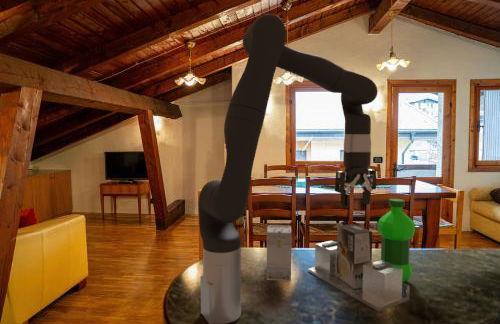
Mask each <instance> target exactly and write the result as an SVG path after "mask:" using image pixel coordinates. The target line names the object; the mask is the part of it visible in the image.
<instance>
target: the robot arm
mask: <svg viewBox="0 0 500 324" xmlns="http://www.w3.org/2000/svg"><path fill="white" fill-rule="evenodd" d="M242 37H243V38H242V48H243V50H244V51H245V53H246V54H247V55H248V56H247V57H248V58H247V62H246V65H245V67H244V70H243V72H242V75H241V76H240V77H239V80H238V82H237V84H236V86H235V89H234V91H233V93H232V95H231V98H230V101H229V104H228V107H227V112H226V115H225V119H224V125H223V134H224V143H225V150H226V156H225V157H226V160H225V166H224V169H223V173H222V177H221V179H220V180H214V179H213V180H211V181H208V182H207V183H205V184H204V185H203V187H202V188H201V189H200V192H199V196H198V210H197V211H198V225H199V226H198V227H199V234H200V237H201V239H202V240H201V241H202V255H203V256H202V266H203V267H202V268H203V271H202V272H203V274H202V275H201V276H200V313H201V315H202V316H203V317H204V319H205V320H206V321H207V323H208V324H229V323H233V322H235V321H237V320H239V318H240V317H241V314H242V298H241V297H242V281H241V280H242V264H241V263H242V254H241V253H242V243H241V242H242V239H241V234H240V233H239V231H238V230H237V229H236V227H235V225H234V222H237V221H238V220H239V219H241V217H243V215H244V213H245V211H246V208H247V206H248V205H247V204H248V200H249V194H250V189H251V188H250V187H251V179H252V171H253V166H254V161H255V158H256V154H257V149H258V145H259V140H260V137H261V133H262V129H263V125H264V120H265V118H266V113H267V107H268V103H269V99H270V95H271V91H272V90H271V89H272V85H273V81H274V80H273V79H274V77H275V73H276V69H277V68H279V69H281V70H285V71H287V72H289V73H292V74H294V75H297V76H299V77H300V78H303V79H305V80H307V81H309V82H311V83H313V84H315V85H317V86H319V87H321V88H322V89H324V90H325V91H328V92H329V93H330V92H331V93H334V94H335V93H336V94H340V102H341V108H342V113H343V115H344V116H343V117H344V119H345V122H344V140H343V158H342V159H343V161H342V162H343V163H342V165H343V166H344V167H345V168H344V171H341V170H337V171H336V172H335V181H334V182H335V183H334V191H335V192H336V193H340V194H339V195H340V206H341V207H342V208H345V209H346V208H349V207H350V205H349V204H350V194H349V193H350V191H351V190H352V189H353V188H354V187H357V186H360V187H361V189H362V194H361V195H362V201H361V202H362V204H363V205H370V203H371V194H372V192H373V190H376V189H377V170H376V169H374V168H370V166H371V164H372V162H371V161H372V159H371V158H372V138H371V136H372V135H371V134H372V133H371V132H372V131H371V130H372V128H371V127H372V123H371V122H372V120H371V116H370V115H369V114H368V113H365V112H364V109H363V105H368V104H370V103H372V102H374V100H375V99H376V98H377V96H378V87H377V84H376V82H374V81H373V80H372V79H371V78H369V77H368V76H365V75H363V74H359V73H357V72H354V71H349V70H347V69H344V68H343V67H342V66H340V65H338V64H336V63H334V62H333V61H331V60H329V59H327V58H324V57H323V56H319V55H315V54H310V53H306V52H303V51H299V50H296V49H293V48H291V47H289V46H287V45H285V44H286V41H287V28H286V25H285V23H284V21H283V19H282V18H280V16H278V15H276V14H273V13H266V14H264V15H263V14H262V15H261V16H259V17H257V18H256V20H255V21H253V22H252V24H251V25H250V26H249V27H248V28H247V30H246V31H245V32H244V35H243V36H242Z"/></svg>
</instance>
